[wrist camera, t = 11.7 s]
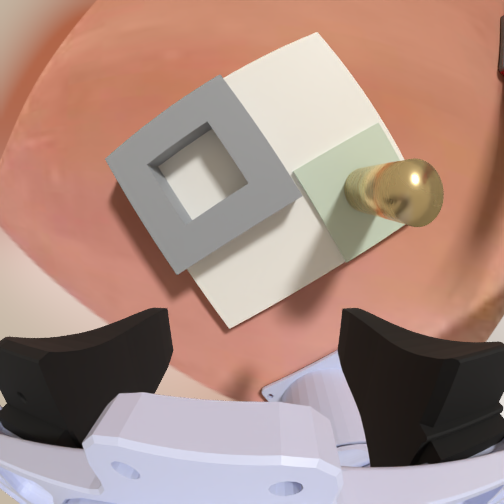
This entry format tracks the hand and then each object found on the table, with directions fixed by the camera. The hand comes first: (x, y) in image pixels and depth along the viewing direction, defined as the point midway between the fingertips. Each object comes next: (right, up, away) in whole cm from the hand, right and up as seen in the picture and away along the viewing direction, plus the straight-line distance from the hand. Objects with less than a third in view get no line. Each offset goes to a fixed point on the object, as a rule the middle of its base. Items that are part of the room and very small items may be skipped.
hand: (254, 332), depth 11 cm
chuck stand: (+1, +8, +8) cm, 12 cm away
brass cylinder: (+7, +7, +6) cm, 12 cm away
